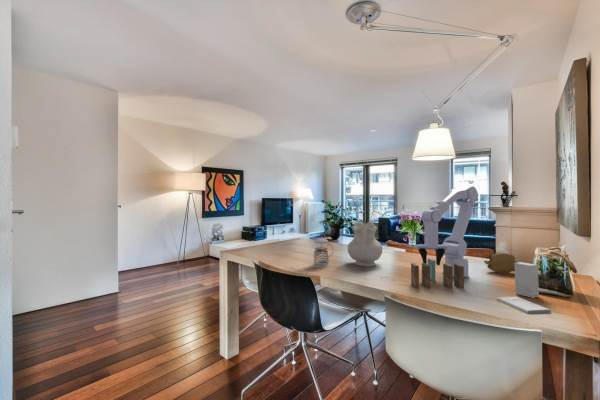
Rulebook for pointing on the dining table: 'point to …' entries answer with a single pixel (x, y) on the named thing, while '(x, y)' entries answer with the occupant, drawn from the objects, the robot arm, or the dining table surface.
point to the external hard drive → (523, 305)
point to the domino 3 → (432, 268)
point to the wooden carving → (501, 263)
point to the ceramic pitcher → (364, 244)
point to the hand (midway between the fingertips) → (431, 264)
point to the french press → (320, 251)
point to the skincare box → (526, 279)
